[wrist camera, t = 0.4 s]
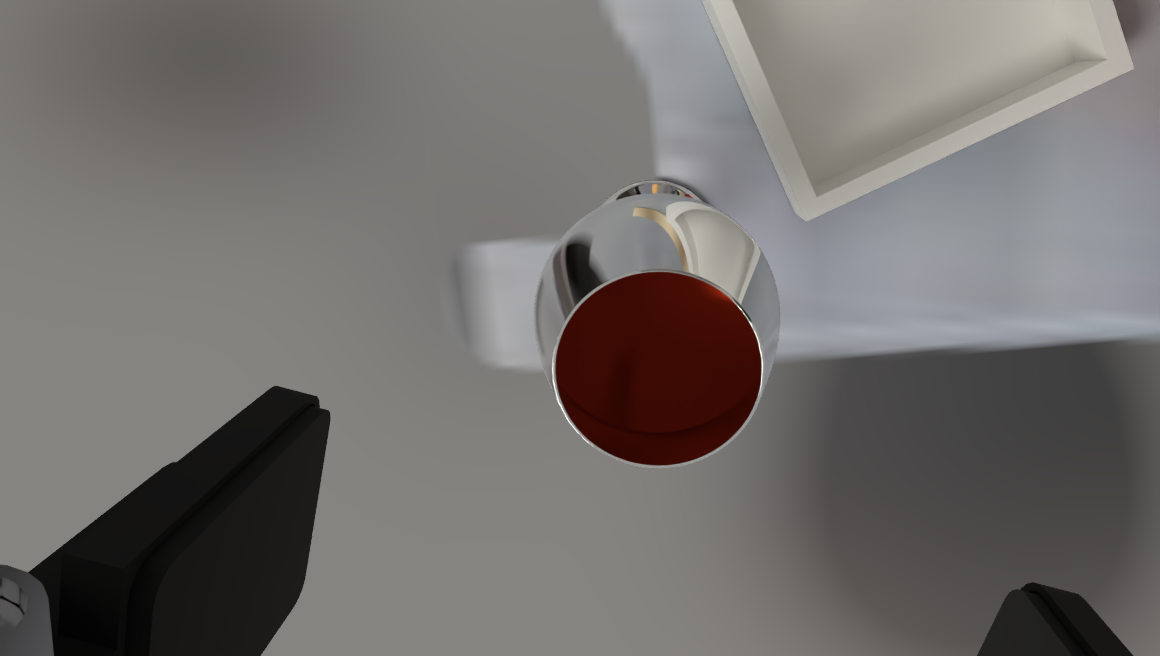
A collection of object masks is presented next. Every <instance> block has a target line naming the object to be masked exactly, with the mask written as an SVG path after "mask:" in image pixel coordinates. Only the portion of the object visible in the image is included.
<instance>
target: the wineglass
mask: <svg viewBox="0 0 1160 656" xmlns="http://www.w3.org/2000/svg"><path fill="white" fill-rule="evenodd" d="M534 331H535V339H536V344H537V349H538V353H539V356H540V360H541V363H542V366H543V369H544V371H545V374H546V376H547V379H548V381H549V383H550V386H551V388H552V390H553V392H554V394H555V397H556V399H557V401H558V403H559V405H560V407H561V409H562V411H563V413H564V415H565V416H566V418H567V419H568V421H569V422H570V424H571V425H572V427H573V428H574V429H575V430H576V432H577V433H578V434H579V435H580V436H581V437H582V438H583V439H584V440H585V441H587V442H588V443H589V444H590V445H592V446H593V447H594V448H596V449H597V450H598V451H600V452H602V453H604V454H606V455H607V456H609V457H611V458H613V459H616V460H618V461H621V462H624V463H627V464H631V465H635V466H640V467H647V468H670V467H678V466H682V465H687V464H691V463H694V462H697V461H699V460H702V459H704V458H707V457H709V456H710V455H712V454H714V453H716V452H718V451H719V450H721V449H722V448H724V447H725V446H726V445H727V444H729V443H730V442H731V441H732V440H733V439H734V438H735V437H736V436H737V435H738V434H739V433H740V432H741V431H742V430H743V429H744V427H745V426H746V424H747V423H748V422H749V420H750V419H751V417H752V415H753V414H754V412H755V410H756V408H757V406H758V403H759V401H760V398H761V396H762V393H763V391H764V388H765V386H766V383H767V380H768V378H769V374H770V372H771V368H772V366H773V362H774V359H775V355H776V351H777V346H778V340H779V333H780V302H779V295H778V290H777V286H776V282H775V279H774V276H773V273H772V270H771V268H770V266H769V263H768V261H767V259H766V258H765V256H764V254H763V252H762V251H761V249H760V248H759V246H758V245H757V243H756V242H755V241H754V239H753V238H752V237H751V236H750V235H749V233H748V232H747V231H746V230H745V229H744V228H743V227H742V226H741V225H739V224H738V223H737V222H736V221H735V220H733V219H732V218H731V217H729V216H728V215H727V214H725V213H723V212H722V211H720V210H718V209H717V208H715V207H713V206H711V205H709V204H706V203H704V202H702V200H701V199H700V198H699V197H697V196H696V195H695V194H694V193H692V192H691V191H690V190H688V189H686V188H684V187H682V186H680V185H678V184H675V183H672V182H667V181H661V180H647V181H640V182H636V183H633V184H630V185H628V186H626V187H624V188H622V189H620V190H618V191H617V192H615V193H614V194H613V195H611V196H610V197H609V198H608V199H607V200H606V201H605V202H604V203H603V204H602V206H601V207H600V208H598V209H596V210H594V211H593V212H591V213H590V214H588V215H586V216H585V217H584V218H582V219H581V220H580V221H578V222H577V223H576V224H575V225H574V226H573V227H572V228H571V229H570V230H569V231H568V232H567V233H566V234H565V235H564V236H563V237H562V238H561V240H560V241H559V242H558V244H557V245H556V246H555V248H554V249H553V251H552V253H551V254H550V256H549V258H548V260H547V262H546V264H545V266H544V268H543V271H542V273H541V276H540V279H539V283H538V286H537V290H536V296H535V303H534Z"/></svg>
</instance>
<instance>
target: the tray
mask: <svg viewBox="0 0 1160 656" xmlns="http://www.w3.org/2000/svg"><path fill="white" fill-rule="evenodd" d="M702 3H703V5H704V7H705V10H706V12H707V14H708V16H709V19H710V21H711V23H712V25H713V28H714V30H715V32H716V35H717V37H718V39H719V41H720V44H721V46H722V48H723V51H724V53H725V55H726V57H727V60H728V62H729V64H730V67H731V69H732V71H733V73H734V76H735V78H736V80H737V83H738V85H739V87H740V89H741V92H742V94H743V96H744V99H745V101H746V103H747V105H748V108H749V110H750V112H751V115H752V117H753V119H754V121H755V124H756V126H757V128H758V131H759V133H760V135H761V137H762V140H763V142H764V144H765V147H766V149H767V151H768V153H769V156H770V158H771V160H772V163H773V165H774V167H775V169H776V172H777V174H778V176H779V179H780V181H781V183H782V185H783V188H784V190H785V192H786V195H787V197H788V199H789V201H790V204H791V206H792V208H793V211H794V212H795V213H796V214H797V215H799V216H800V217H801V218H802V219H804V220H805V221H806V222H807V221H809V220H811V219H814V218H816V217H818V216H820V215H822V214H824V213H826V212H829V211H831V210H833V209H835V208H837V207H839V206H841V205H844V204H846V203H848V202H850V201H852V200H854V199H856V198H858V197H861V196H863V195H865V194H867V193H869V192H871V191H873V190H876V189H878V188H880V187H882V186H884V185H886V184H888V183H891V182H893V181H895V180H897V179H899V178H901V177H903V176H906V175H908V174H910V173H912V172H914V171H916V170H918V169H921V168H923V167H925V166H927V165H929V164H931V163H933V162H936V161H938V160H940V159H942V158H944V157H946V156H948V155H950V154H953V153H955V152H957V151H959V150H961V149H963V148H965V147H968V146H970V145H972V144H974V143H976V142H978V141H980V140H983V139H985V138H987V137H989V136H991V135H993V134H995V133H998V132H1000V131H1002V130H1004V129H1006V128H1008V127H1010V126H1013V125H1015V124H1017V123H1019V122H1021V121H1023V120H1025V119H1028V118H1030V117H1032V116H1034V115H1036V114H1038V113H1040V112H1042V111H1045V110H1047V109H1049V108H1051V107H1053V106H1055V105H1057V104H1060V103H1062V102H1064V101H1066V100H1068V99H1070V98H1072V97H1075V96H1077V95H1079V94H1081V93H1083V92H1085V91H1087V90H1090V89H1092V88H1094V87H1096V86H1098V85H1100V84H1102V83H1105V82H1107V81H1109V80H1111V79H1113V78H1115V77H1117V76H1120V75H1122V74H1124V73H1126V72H1128V71H1130V70H1132V69H1134V66H1133V63H1132V60H1131V57H1130V54H1129V51H1128V47H1127V44H1126V41H1125V38H1124V35H1123V31H1122V28H1121V25H1120V22H1119V19H1118V16H1117V12H1116V9H1115V6H1114V3H1113V0H702Z"/></svg>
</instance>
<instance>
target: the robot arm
mask: <svg viewBox="0 0 1160 656" xmlns="http://www.w3.org/2000/svg"><path fill="white" fill-rule="evenodd" d="M319 407H320V405H319V399H318V397H317V396H313V395H309V394H306V393H301V392H298V391H294V390H290V389H286V388H283V387H279V386H274V387H272V388H270V389H269V390H268V391H266V392H265V393H264V394H263V395H261V396H260V397H259V398H257V399H256V400H255V401H254V402H252V403H251V404H250V405H249V406H247V408H245V409H244V410H242V411H241V412H240V413H238V414H237V415H236V416H235V417H233V418H232V419H231V420H230V421H228V422H227V423H226V424H225V425H223V426H222V427H221V428H220V429H218V430H217V431H216V432H214V433H213V434H212V435H211V436H209V437H208V438H207V439H206V440H204V441H203V442H202V443H201V444H199V445H198V446H197V447H195V448H194V449H193V450H192V451H190V452H189V453H188V454H187V455H185V456H184V457H183V458H181V459H180V460H179V461H178V462H172V463H170V464H168V465H167V466H165V467H163V468H162V469H161V470H159V471H158V472H157V473H155V474H154V475H153V476H151V477H150V478H149V479H148V480H146V481H145V482H144V483H142V484H141V485H140V486H139V487H137V488H136V489H135V490H133V491H132V492H131V493H130V494H128V495H127V496H126V497H124V498H123V499H122V500H121V501H119V502H118V503H117V504H115V505H114V506H113V507H112V508H110V509H109V510H108V511H106V512H105V513H104V514H103V515H101V516H100V517H99V518H97V520H95V521H94V522H92V523H91V524H90V525H88V526H87V527H86V528H85V529H83V530H82V531H81V532H80V533H78V534H77V535H76V536H74V537H73V538H72V539H70V540H69V541H68V542H67V543H66V544H64V545H63V546H62V547H60V548H59V549H58V550H56V551H55V552H54V553H52V554H51V555H50V556H49V557H47V558H46V559H45V560H43V561H42V562H41V563H40V564H38V565H37V566H36V567H35V568H33V569H32V570H31V571H29V572H25V571H22V570H19V569H16V568H14V567H11V566H8V565H0V656H261V654H262V653H263V651H264V650H265V648H266V647H267V645H268V644H269V643H270V641H271V640H272V638H273V637H274V635H275V634H276V632H277V631H278V629H279V628H280V626H281V625H282V624H283V622H284V621H285V619H286V618H287V616H288V615H289V613H290V612H291V610H292V609H293V607H294V606H295V604H296V602H297V600H298V598H299V596H300V593H301V591H302V588H303V584H304V581H305V576H306V569H307V564H308V558H309V551H310V545H311V539H312V532H313V526H314V519H315V514H316V507H317V501H318V495H319V488H320V482H321V476H322V469H323V463H324V457H325V451H326V444H327V438H328V431H329V425H330V412H329V411H328V410H325V409H321V408H319ZM977 656H1133V655H1132V654H1131V653H1130V651H1129V650H1128V649H1127V648H1126V647H1125V646H1124V644H1123V643H1122V642H1121V641H1120V640H1119V639H1118V638H1117V636H1116V635H1115V634H1114V633H1113V632H1112V631H1111V629H1110V628H1109V627H1108V626H1107V625H1106V624H1105V623H1104V621H1103V620H1102V619H1101V618H1100V617H1099V616H1098V614H1097V613H1096V612H1095V611H1094V610H1093V609H1092V607H1091V606H1090V605H1089V604H1088V603H1087V602H1086V601H1085V599H1084V598H1082V597H1081V596H1080V595H1079V594H1076V593H1072V592H1068V591H1064V590H1060V589H1056V588H1053V587H1048V586H1045V585H1041V584H1037V583H1033V582H1032V583H1028V584H1026V585H1025V586H1024V587H1022V588H1021V589H1020V590H1018V589H1016V590H1012V591H1011V592H1010V593H1009V594H1008V595H1007V597H1006V598H1005V600H1004V602H1003V604H1002V606H1001V608H1000V610H999V612H998V614H997V616H996V618H995V620H994V622H993V624H992V626H991V629H990V630H989V633H988V634H987V637H986V639H985V641H984V643H983V645H982V647H981V649H980V651H979V653H978V655H977Z"/></svg>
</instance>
